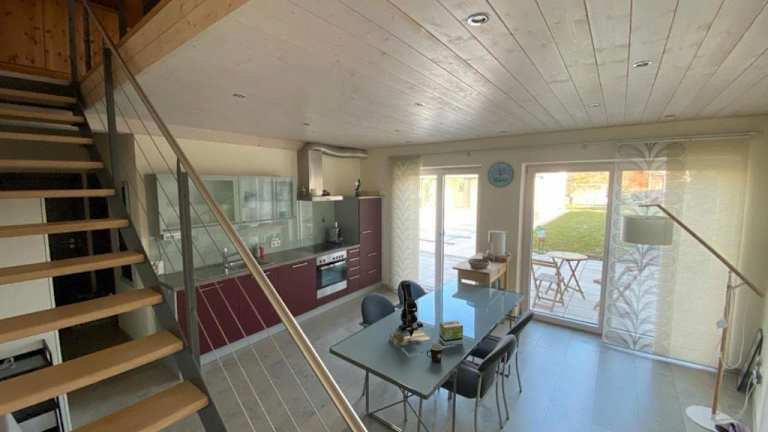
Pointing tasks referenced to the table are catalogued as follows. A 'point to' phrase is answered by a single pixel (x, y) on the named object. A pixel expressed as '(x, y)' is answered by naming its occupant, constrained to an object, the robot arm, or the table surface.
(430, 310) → the table surface
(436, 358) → the coffee mug
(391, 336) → the trap board
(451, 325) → the tea box
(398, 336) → the walnut block
